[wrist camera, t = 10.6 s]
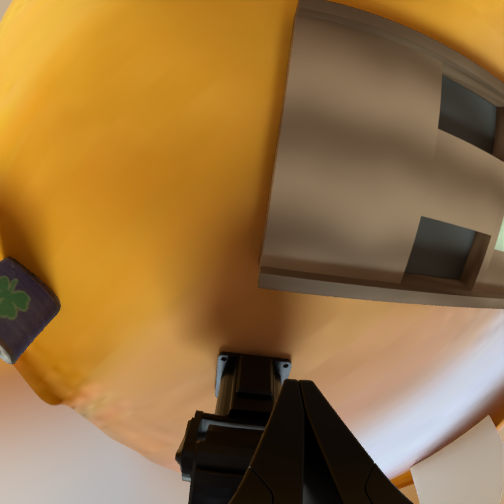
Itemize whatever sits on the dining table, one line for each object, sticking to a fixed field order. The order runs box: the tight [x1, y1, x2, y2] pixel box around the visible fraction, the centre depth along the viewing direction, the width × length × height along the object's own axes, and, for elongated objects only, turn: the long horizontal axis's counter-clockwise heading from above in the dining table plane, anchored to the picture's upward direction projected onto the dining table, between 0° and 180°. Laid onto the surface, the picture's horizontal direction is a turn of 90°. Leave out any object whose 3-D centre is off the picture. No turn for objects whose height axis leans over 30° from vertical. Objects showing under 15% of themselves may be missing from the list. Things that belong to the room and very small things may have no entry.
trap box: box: [258, 0, 504, 309], centre depth 16 cm, size 18×28×4 cm, turn 83°
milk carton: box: [410, 415, 504, 504], centre depth 24 cm, size 19×15×25 cm
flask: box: [0, 257, 61, 364], centre depth 17 cm, size 9×3×11 cm, turn 55°
